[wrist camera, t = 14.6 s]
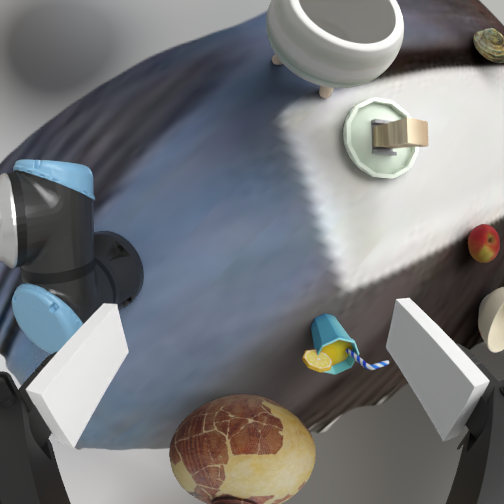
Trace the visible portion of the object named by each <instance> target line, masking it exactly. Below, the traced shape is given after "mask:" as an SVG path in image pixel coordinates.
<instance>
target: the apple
mask: <svg viewBox="0 0 504 504" xmlns="http://www.w3.org/2000/svg"><path fill="white" fill-rule="evenodd" d="M499 245H500V243H499V236H498V233H497V232H496V230H495V229H494V228H493V227H491V226H489V225H487V224H481V225H479V226H477V227H475V228H474V229H473V230H472V231H471V233H470V235H469V238H468V248H469V252H470V254H471V256H472V257H473V258H474V259H475V260H476V261H478V262H481V263H487V262H490V261H492V260H493V259H494V258H495V257H496V255H497V254H498V251H499Z"/></svg>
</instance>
